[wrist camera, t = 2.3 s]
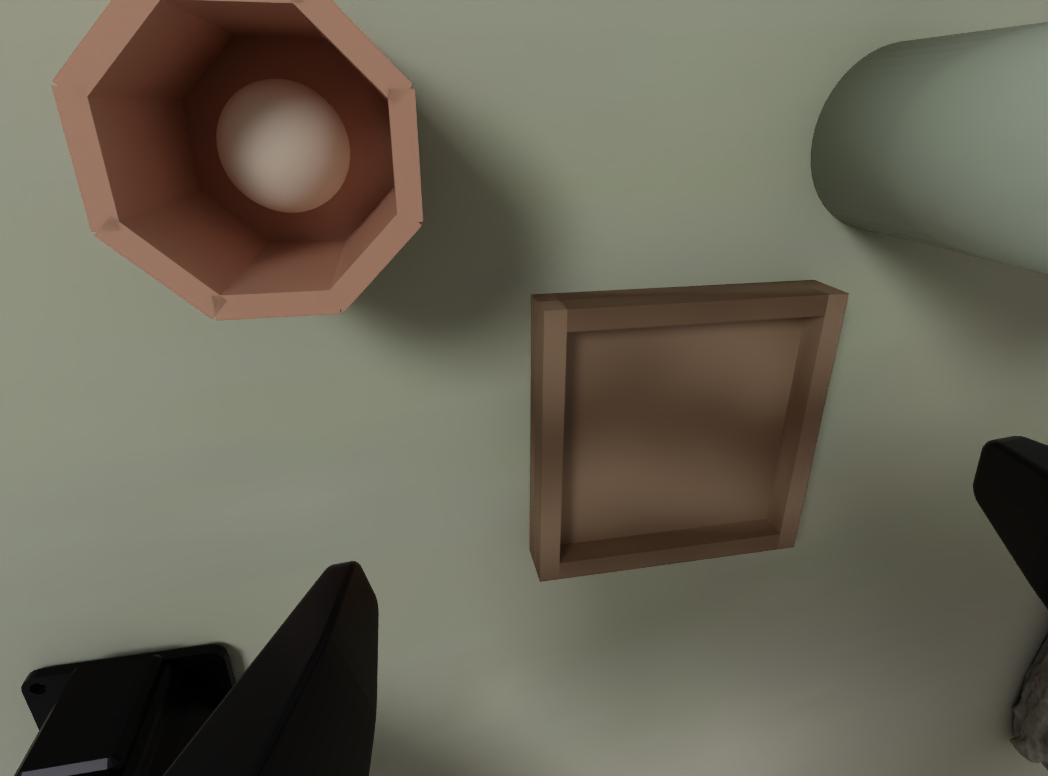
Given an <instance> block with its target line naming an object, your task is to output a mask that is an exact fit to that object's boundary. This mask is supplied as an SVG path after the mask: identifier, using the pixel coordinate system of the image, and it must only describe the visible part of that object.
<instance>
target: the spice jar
mask: <svg viewBox="0 0 1048 776" xmlns="http://www.w3.org/2000/svg"><path fill="white" fill-rule="evenodd" d="M811 171H812V178H813V182H814V186H815V189H816V191H817V194H818V196H819V198H820V200H821V201H822V203H823V205H824V206H825V207H826V208H827V210H828V211H829V212H830V213H831V214H832V215H833V216H835V217H836V218H837V219H839V220H840V221H842V222H844V223H846V224H849V225H851V226H855V227H859V228H863V229H867V230H871V231H875V232H879V233H883V234H887V235H891V236H895V237H899V238H903V239H907V240H911V241H915V242H919V243H923V244H927V245H931V246H935V247H939V248H943V249H947V250H951V251H955V252H959V253H963V254H967V255H971V256H975V257H979V258H983V259H987V260H991V261H995V262H999V263H1003V264H1007V265H1011V266H1015V267H1019V268H1023V269H1028V270H1032V271H1036V272H1040V273H1044V274H1048V22H1043V23H1036V24H1028V25H1021V26H1013V27H1006V28H998V29H991V30H983V31H976V32H968V33H961V34H953V35H946V36H938V37H931V38H923V39H916V40H908V41H901V42H897V43H892V44H889V45H886V46H884V47H881V48H879V49H877V50H875V51H873V52H872V53H870V54H868V55H867V56H865V57H864V58H863V59H861V60H860V61H858V62H857V63H856V64H855V65H854V66H853V67H852V68H851V69H850V70H849V71H848V72H847V73H846V74H845V75H844V76H843V77H842V78H841V80H840V81H839V82H838V84H837V85H836V86H835V88H834V89H833V90H832V92H831V94H830V95H829V97H828V99H827V101H826V102H825V104H824V107H823V109H822V111H821V113H820V115H819V118H818V121H817V124H816V127H815V131H814V136H813V140H812V148H811Z"/></svg>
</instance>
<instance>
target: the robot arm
mask: <svg viewBox="0 0 1048 776" xmlns="http://www.w3.org/2000/svg"><path fill="white" fill-rule="evenodd" d="M973 491H974V495H975V498H976V500H977V502H978V504H979V505H980V507H981V509H982V510H983V512H984V513H985V515H986V516H987V518H988V520H989V521H990V523H991V524H992V526H993V527H994V529H995V530H996V532H997V534H998V535H999V537H1000V538H1001V540H1002V541H1003V543H1004V545H1005V546H1006V548H1007V549H1008V551H1009V552H1010V554H1011V556H1012V557H1013V559H1014V560H1015V562H1016V563H1017V565H1018V567H1019V568H1020V570H1021V571H1022V573H1023V574H1024V576H1025V578H1026V579H1027V581H1028V582H1029V584H1030V585H1031V587H1032V588H1033V589H1034V591H1035V592H1036V594H1037V595H1038V597H1039V598H1040V599H1041V601H1042V602H1043V603H1044V605H1045V606H1046V607H1047V609H1048V445H1045V444H1042V443H1039V442H1037V441H1034V440H1031V439H1029V438H1026V437H1022V436H1011V437H1006V438H1001V439H995V440H991V441H988V442H987V443H986V444H985V445H984V446H983V448H982V451H981V455H980V459H979V463H978V467H977V471H976V474H975V478H974V483H973ZM378 615H379V613H378V603H377V599H376V596H375V593H374V591H373V589H372V587H371V585H370V583H369V581H368V579H367V577H366V575H365V573H364V571H363V569H362V567H361V566H360V564H359V563H358V562H356V561H350V562H345V563H339V564H334V565H331V566H329V567H328V568H327V569H326V570H325V571H324V572H323V573H322V575H321V576H320V577H319V578H318V580H317V581H316V582H315V584H314V585H313V586H312V587H311V589H310V590H309V591H308V592H307V594H306V595H305V596H304V597H303V599H302V600H301V601H300V603H299V604H298V605H297V606H296V608H295V609H294V610H293V611H292V613H291V614H290V615H289V616H288V618H287V619H286V620H285V622H284V623H283V624H282V625H281V627H280V628H279V629H278V630H277V632H276V633H275V634H274V636H273V637H272V638H271V639H270V641H269V642H268V643H267V644H266V646H265V647H264V648H263V649H262V651H261V652H260V653H259V655H258V656H257V657H256V658H255V660H254V661H253V662H252V663H251V665H250V666H249V667H248V668H247V670H246V671H245V672H244V674H243V675H242V676H241V677H240V679H239V680H238V681H237V682H235V678H234V674H233V670H232V666H231V662H230V658H229V654H228V652H227V650H226V649H225V648H224V647H222V646H220V645H204V646H197V647H190V648H183V649H176V650H169V651H162V652H155V653H148V654H141V655H134V656H127V657H120V658H113V659H106V660H98V661H91V662H84V663H77V664H70V665H63V666H56V667H49V668H42V669H37V670H34V671H32V672H31V673H29V675H28V676H27V678H26V680H25V681H24V683H23V685H22V687H21V689H22V693H23V695H24V697H25V700H26V702H27V704H28V706H29V709H30V711H31V713H32V715H33V717H34V720H35V722H36V724H37V726H38V729H39V732H38V734H37V736H36V738H35V739H34V741H33V743H32V745H31V747H30V748H29V750H28V752H27V754H26V755H25V757H24V759H23V761H22V763H21V764H20V766H19V768H18V770H17V772H16V773H15V775H14V776H369V771H370V763H371V755H372V747H373V739H374V731H375V722H376V709H377V669H378ZM209 658H214V659H216V660H210V659H209ZM41 684H43V685H41Z"/></svg>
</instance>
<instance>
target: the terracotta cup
mask: <svg viewBox="0 0 1048 776" xmlns="http://www.w3.org/2000/svg"><path fill="white" fill-rule="evenodd" d="M265 79H286V80H290V81H294V82H297V83H300V84H303V85H305V86H307V87H309V88H311V89H312V90H314V91H315V92H317V93H318V94H320V95H321V96H322V97H323V98H324V99H325V100H326V101H327V102H328V103H329V104H330V105H331V106H332V107H333V108H334V110H335V111H336V112H337V114H338V115H339V117H340V119H341V121H342V122H343V125H344V127H345V129H346V132H347V136H348V139H349V145H350V164H349V169H348V173H347V175H346V178H345V181H344V182H343V184H342V186H341V188H340V189H339V190H338V192H337V193H336V194H335V195H334V196H333V197H332V198H331V199H330V200H328V201H327V202H326V203H324V204H322V205H321V206H319V207H317V208H314V209H312V210H308V211H304V212H296V213H287V212H280V211H275V210H272V209H268V208H266V207H264V206H261V205H259V204H257V203H256V202H254V201H252V200H251V199H249V198H248V197H247V196H245V195H244V194H243V193H242V192H241V191H240V190H239V189H238V188H237V187H236V186H235V185H234V184H233V183H232V181H231V180H230V178H229V177H228V175H227V174H226V172H225V170H224V168H223V166H222V163H221V161H220V158H219V154H218V150H217V142H216V132H217V125H218V121H219V118H220V114H221V112H222V110H223V108H224V106H225V105H226V103H227V102H228V100H229V99H230V98H231V97H232V96H233V95H234V94H235V93H236V92H237V91H239V90H240V89H241V88H243V87H245V86H246V85H248V84H251V83H253V82H256V81H260V80H265ZM52 81H53V82H54V83H55V84H57V85H58V86H52V90H53V93H54V97H55V101H56V104H57V108H58V112H59V115H60V119H61V123H62V126H63V130H64V134H65V137H66V141H67V144H68V148H69V152H70V155H71V159H72V163H73V166H74V170H75V174H76V177H77V181H78V185H79V188H80V192H81V196H82V199H83V203H84V207H85V210H86V214H87V218H88V221H89V225H90V228H91V232H97V233H96V234H95V235H94V236H95V237H97V238H98V239H100V240H101V241H102V242H104V243H105V244H107V245H108V246H110V247H111V248H112V249H114V250H115V251H117V252H118V253H119V254H121V255H122V256H124V257H125V258H126V259H128V260H129V261H131V262H132V263H133V264H135V265H136V266H138V267H139V268H141V269H142V270H143V271H145V272H146V273H148V274H149V275H150V276H152V277H153V278H155V279H156V280H157V281H159V282H160V283H162V284H163V285H165V286H166V287H167V288H169V289H170V290H172V291H173V292H174V293H176V294H177V295H179V296H180V297H181V298H183V299H184V300H186V301H187V302H188V303H190V304H191V305H193V306H194V307H196V308H197V309H198V310H200V311H201V312H203V313H204V314H205V315H207V316H208V317H210V318H211V319H213V317H214V316H215V317H216V320H233V319H251V318H270V317H288V316H306V315H325V314H341V310H342V311H343V312H345V311H346V309H347V308H348V307H349V306H350V305H351V304H352V303H353V302H354V301H355V299H356V298H357V297H358V296H359V295H360V294H361V293H362V292H363V291H364V289H365V288H366V287H367V286H368V285H369V284H370V283H371V282H372V281H373V279H374V278H375V277H376V276H377V275H378V274H379V273H380V272H381V271H382V269H383V268H384V267H385V266H386V265H387V264H388V263H389V262H390V261H391V259H392V258H393V257H394V256H395V255H396V254H397V253H398V252H399V251H400V249H401V248H402V247H403V246H404V245H405V244H406V243H407V242H408V241H409V240H410V238H411V237H412V236H413V235H414V234H415V233H416V232H417V231H418V230H419V228H420V227H421V226H422V224H421V222H423V210H422V193H421V177H420V161H419V145H418V129H417V113H416V97H415V89H410V87H411V86H412V85H413V84H412V83H411V82H410V81H409V80H408V79H407V77H406V76H405V75H404V74H403V73H402V72H401V71H400V70H399V69H398V68H397V67H396V66H395V65H394V64H393V63H392V62H391V61H390V60H389V59H388V58H387V57H386V56H385V55H384V54H383V53H382V52H381V51H380V50H379V48H378V47H377V46H376V45H375V44H374V43H373V42H372V41H371V40H370V39H369V38H368V37H367V36H366V35H365V34H364V33H363V32H362V31H361V30H360V29H359V28H358V27H357V26H356V25H355V24H354V23H353V22H352V21H351V19H350V18H349V17H348V16H347V15H346V14H345V13H344V12H343V11H342V10H341V9H340V8H339V7H338V6H337V5H336V4H335V3H334V2H333V1H332V0H111V2H110V3H109V4H108V6H107V7H106V8H105V10H104V11H103V12H102V14H101V15H100V17H99V18H98V19H97V21H96V22H95V23H94V25H93V26H92V27H91V29H90V30H89V31H88V33H87V34H86V36H85V37H84V38H83V40H82V41H81V42H80V44H79V45H78V46H77V48H76V49H75V50H74V52H73V53H72V55H71V56H70V57H69V59H68V60H67V61H66V63H65V64H64V65H63V67H62V68H61V69H60V71H59V72H58V74H57V75H56V76H55V78H54V79H53V80H52Z"/></svg>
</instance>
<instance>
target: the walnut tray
mask: <svg viewBox="0 0 1048 776" xmlns="http://www.w3.org/2000/svg"><path fill="white" fill-rule="evenodd" d="M848 295H849V293H846V292H844V291H841V290H838V289H836V288H833V287H831V286H828V285H826V284H823V283H821V282H818V281H816V280H803V281H784V282H765V283H746V284H726V285H707V286H688V287H669V288H649V289H630V290H611V291H592V292H572V293H553V294H534V295H531V432H530V552H531V555H532V559H533V562H534V565H535V568H536V571H537V574H538V577H539V580H540V582H542V581H549V580H556V579H563V578H571V577H578V576H585V575H593V574H600V573H607V572H615V571H622V570H629V569H637V568H644V567H651V566H659V565H666V564H673V563H680V562H688V561H695V560H702V559H710V558H717V557H724V556H732V555H739V554H746V553H754V552H761V551H768V550H776V549H783V548H790V547H794V543H795V538H796V534H797V529H798V525H799V520H800V515H801V511H802V506H803V502H804V497H805V492H806V488H807V483H808V479H809V474H810V469H811V465H812V460H813V456H814V451H815V446H816V442H817V437H818V433H819V428H820V423H821V419H822V414H823V410H824V405H825V400H826V396H827V391H828V387H829V382H830V377H831V373H832V368H833V364H834V359H835V355H836V350H837V345H838V341H839V336H840V332H841V327H842V322H843V318H844V313H845V309H846V304H847V299H848Z"/></svg>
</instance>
